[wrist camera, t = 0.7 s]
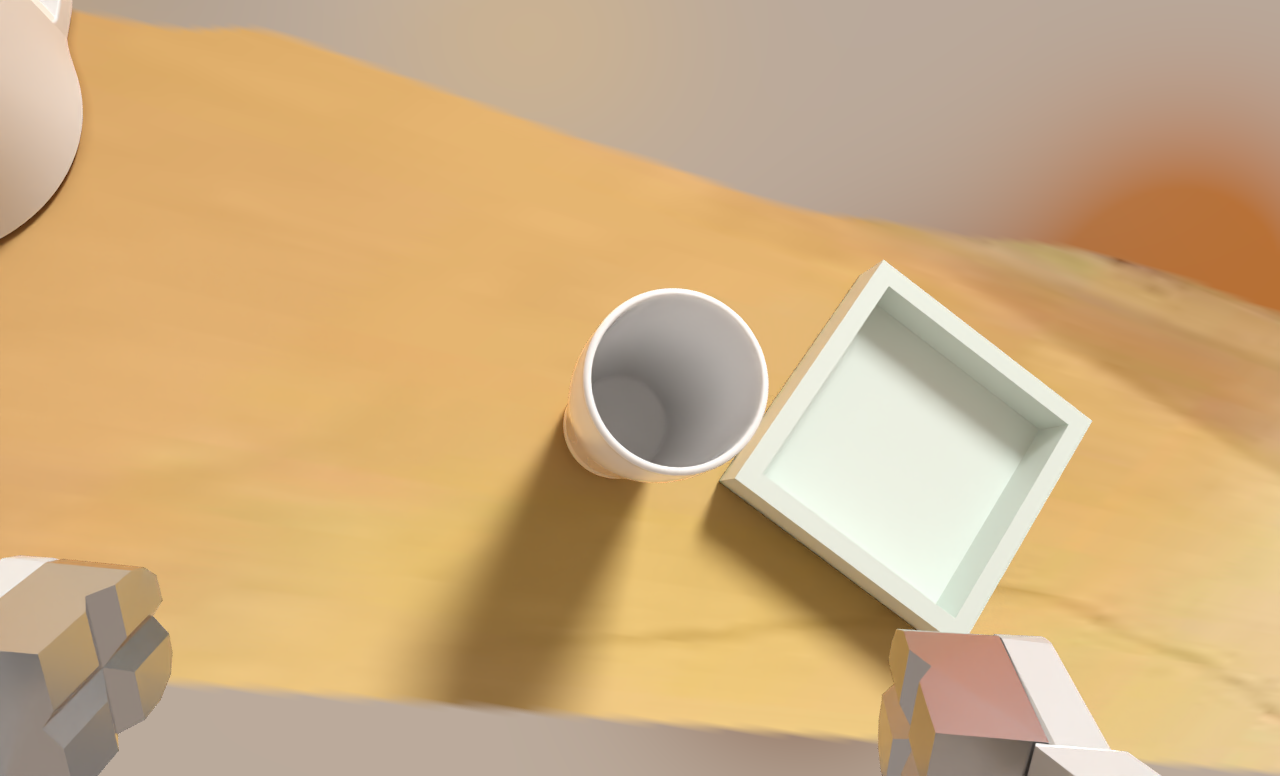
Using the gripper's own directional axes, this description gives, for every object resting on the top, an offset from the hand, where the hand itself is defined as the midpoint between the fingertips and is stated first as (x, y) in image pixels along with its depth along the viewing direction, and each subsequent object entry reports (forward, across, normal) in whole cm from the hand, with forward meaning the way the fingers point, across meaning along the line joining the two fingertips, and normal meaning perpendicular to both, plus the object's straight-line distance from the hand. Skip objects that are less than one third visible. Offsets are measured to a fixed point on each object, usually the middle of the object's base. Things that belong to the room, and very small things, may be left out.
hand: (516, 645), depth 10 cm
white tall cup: (+33, +2, +13) cm, 36 cm away
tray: (+36, -13, +14) cm, 41 cm away
